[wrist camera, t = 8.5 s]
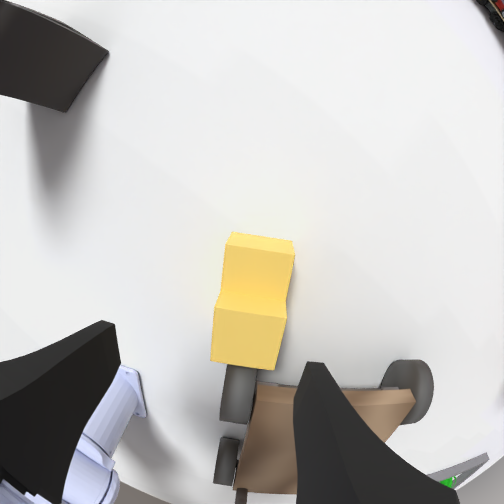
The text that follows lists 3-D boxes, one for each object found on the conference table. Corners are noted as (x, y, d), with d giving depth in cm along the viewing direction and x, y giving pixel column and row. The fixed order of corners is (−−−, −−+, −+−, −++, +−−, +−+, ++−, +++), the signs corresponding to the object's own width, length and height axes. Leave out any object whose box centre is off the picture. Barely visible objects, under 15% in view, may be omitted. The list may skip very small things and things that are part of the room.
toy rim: (376, 510, 38) (378, 517, 36) (424, 475, 31) (427, 484, 29) (438, 492, 38) (440, 498, 36) (486, 452, 31) (489, 459, 28)
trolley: (219, 451, 27) (201, 549, 13) (234, 331, 21) (194, 514, 7) (343, 458, 27) (355, 548, 13) (416, 346, 21) (485, 474, 7)
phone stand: (110, 52, 14) (-1, 3, 3) (67, 113, 16) (-53, 108, 5) (63, 22, 13) (-23, -11, 2) (28, 73, 15) (-64, 63, 3)
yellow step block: (222, 319, 21) (210, 360, 16) (232, 231, 19) (219, 255, 14) (274, 326, 21) (273, 370, 16) (291, 240, 18) (298, 267, 14)
